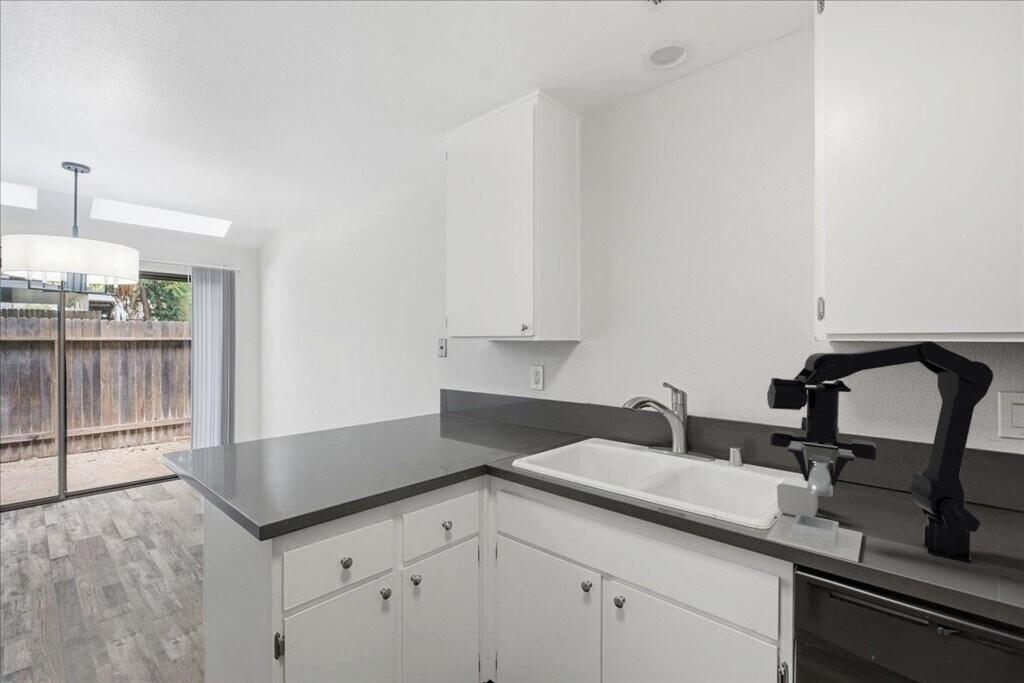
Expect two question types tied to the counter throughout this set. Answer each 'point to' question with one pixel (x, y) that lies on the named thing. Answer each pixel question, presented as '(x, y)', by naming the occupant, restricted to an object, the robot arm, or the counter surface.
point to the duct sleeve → (820, 476)
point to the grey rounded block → (796, 497)
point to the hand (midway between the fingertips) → (820, 483)
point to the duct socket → (817, 536)
